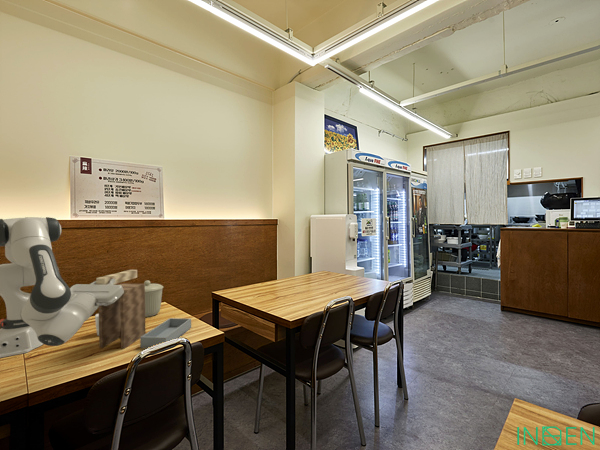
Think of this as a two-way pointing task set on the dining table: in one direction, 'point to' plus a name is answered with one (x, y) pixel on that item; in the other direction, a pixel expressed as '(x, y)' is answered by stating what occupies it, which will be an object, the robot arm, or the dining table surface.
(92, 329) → the dining table surface
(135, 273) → the bar
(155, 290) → the canister
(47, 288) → the robot arm
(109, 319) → the zigzag patterned arch
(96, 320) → the white cup
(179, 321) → the tray
